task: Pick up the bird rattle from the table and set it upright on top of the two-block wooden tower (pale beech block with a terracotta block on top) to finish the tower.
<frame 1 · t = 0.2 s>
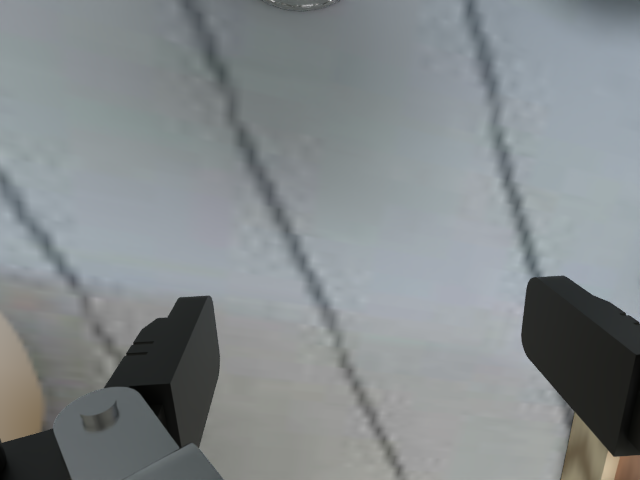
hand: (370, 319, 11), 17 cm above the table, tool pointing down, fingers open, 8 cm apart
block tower: (636, 448, 37), on the table
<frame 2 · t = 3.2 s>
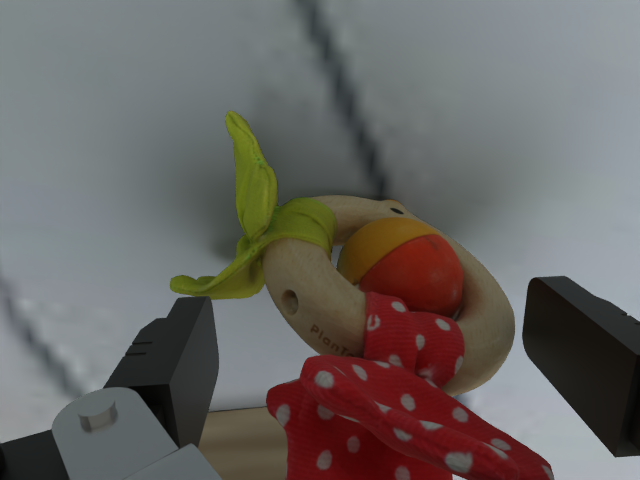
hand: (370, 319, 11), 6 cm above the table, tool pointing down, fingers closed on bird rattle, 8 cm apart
bird rattle: (316, 205, 16), on the table, touching gripper
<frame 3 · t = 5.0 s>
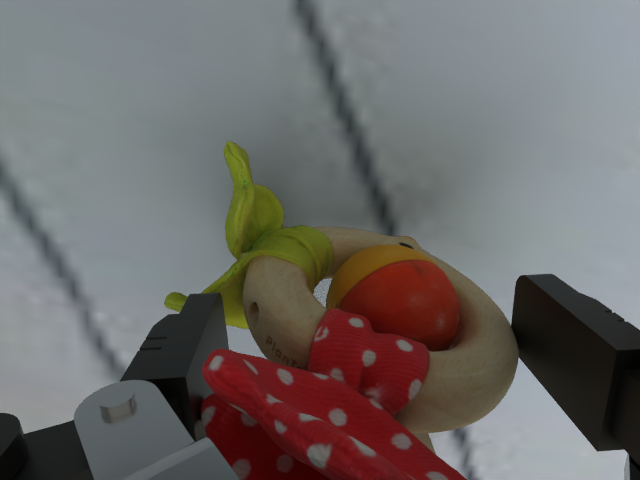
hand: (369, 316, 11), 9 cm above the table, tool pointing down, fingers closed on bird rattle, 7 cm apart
bird rattle: (330, 241, 16), point 4 cm above the table, touching gripper
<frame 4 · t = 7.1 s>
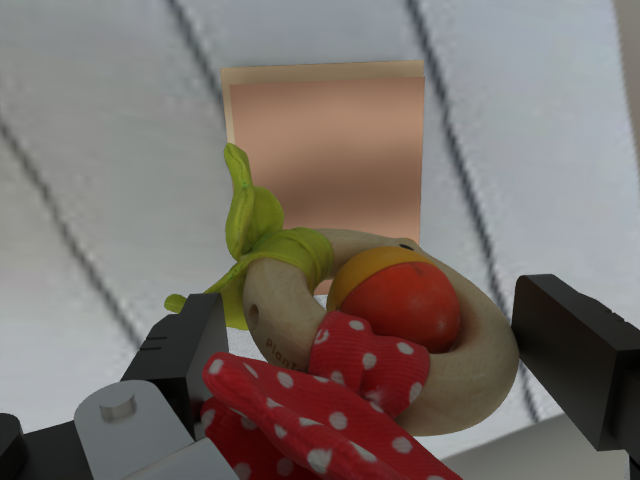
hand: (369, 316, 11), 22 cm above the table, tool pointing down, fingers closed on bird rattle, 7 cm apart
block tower: (323, 170, 32), on the table
bird rattle: (330, 242, 16), point 17 cm above the table, touching gripper
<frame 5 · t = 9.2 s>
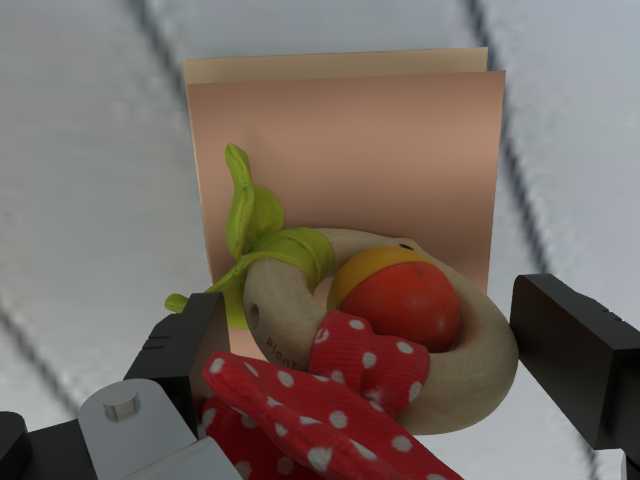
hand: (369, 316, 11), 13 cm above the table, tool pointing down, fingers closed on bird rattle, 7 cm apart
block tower: (334, 203, 23), on the table
bird rattle: (330, 242, 16), point 8 cm above the table, touching gripper
when the fingers open (13 cm above the table, at t = 9.5 s): bird rattle stays where it is, resting on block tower.
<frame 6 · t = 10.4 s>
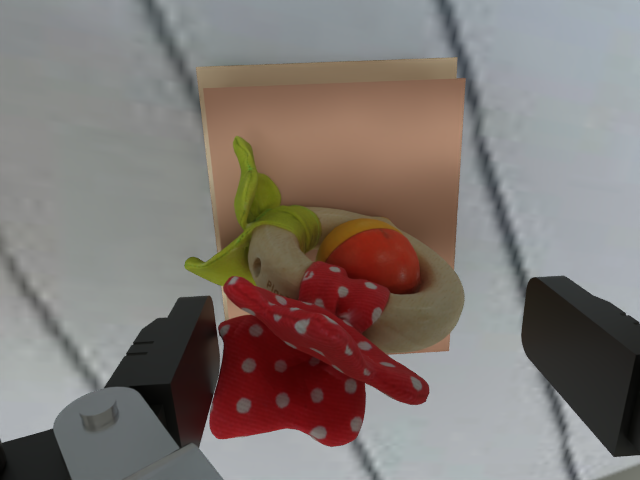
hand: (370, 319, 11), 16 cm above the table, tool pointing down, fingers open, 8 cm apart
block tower: (327, 193, 26), on the table
bird rattle: (319, 222, 19), point 8 cm above the table, touching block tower, gripper
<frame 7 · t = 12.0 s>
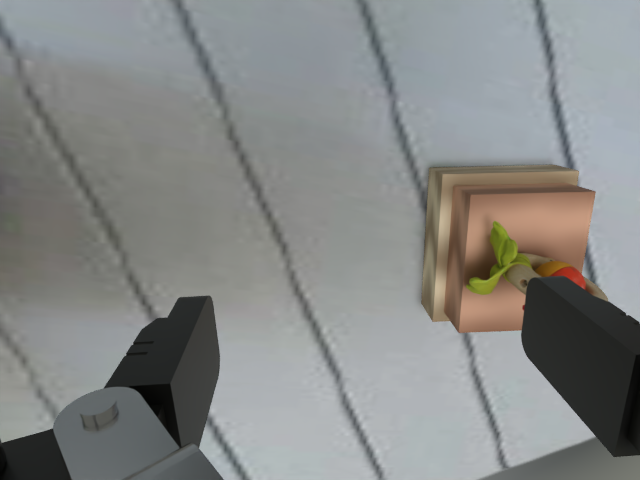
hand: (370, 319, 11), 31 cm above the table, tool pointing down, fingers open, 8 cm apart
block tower: (484, 236, 44), on the table
bird rattle: (514, 258, 37), point 8 cm above the table, touching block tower
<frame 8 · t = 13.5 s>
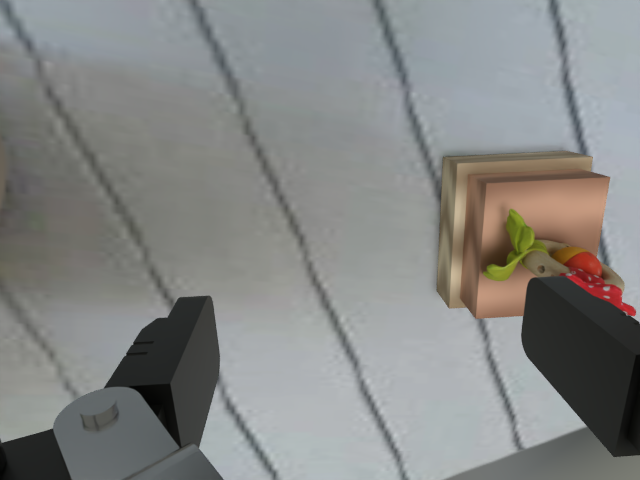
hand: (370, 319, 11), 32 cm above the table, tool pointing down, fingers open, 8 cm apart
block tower: (498, 224, 45), on the table
bird rattle: (529, 245, 37), point 8 cm above the table, touching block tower
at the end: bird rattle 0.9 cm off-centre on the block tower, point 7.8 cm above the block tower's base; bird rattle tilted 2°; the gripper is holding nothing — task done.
